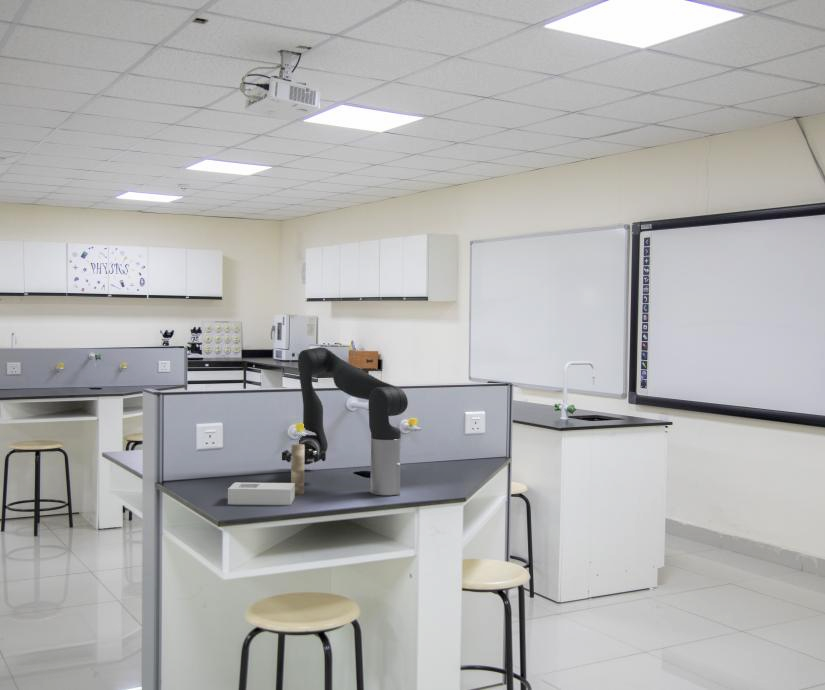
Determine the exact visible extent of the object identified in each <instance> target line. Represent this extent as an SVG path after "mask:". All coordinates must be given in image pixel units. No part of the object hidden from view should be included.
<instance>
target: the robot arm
mask: <svg viewBox="0 0 825 690" xmlns="http://www.w3.org/2000/svg"><path fill="white" fill-rule="evenodd" d="M297 367H298V368H297V369H298V376H299V382H300V383H299V384H300V390H301V395H302V397H301V398H302V406H303V410H302V411H303V413H302V425H303V424H304V427H303V429H304V428H305V429H304V430H306V431H308V432H311V433H314V434H305V435H306V436H302V435H301V436H302V437H301V436H300V437H301V438H300V437H299V438H300V440H299V439H298V440H299V444H304V445H305V456H304V466H305V465H306V466H307V465H311V464H313V463H317V462H320V461H322V462H326V459H327V450H328V447H329V446H328V440H327V437H326V433H325V429H324V408H323V407H324V406H323V404H322V400H321V399H320V398H319V396H318V394H317V393H316V390H315V388H314V386H313V376H316V375H322V374H328V375H331V376H332V380H333V382H334V385H335V387H336V388H337V389H338V390H340V391H342V392H343V393H345V394H347V395H349V396H351V397H354V398H358V399H362V400H366V401H368V404H367V405H368V423H369V424H368V427H369V430H370V435H371V436H370V438H371V440H370V490H369V491H370V494H372V495H376V496H396V495H397V496H398V495H401V437H402V436H401V435H402V433H401V429H400V428H398V427H396V426H393V425H392V424H391V423H390V417H395V416H400V415H402V414H403V413H404V412H405V411H406V410H407V408H408V405H409V402H408V401H409V400H408V397H407V395H406V393H405V391H404V390H403V389H402V388H400V387H398V386H397V385H393V384H390V383H388V382H384V381H382V380H380V379H378V378H377V377H375V376H373V375H372V374H369V373H367V372H365V371H364V370H363V369H360V368H359V367H357V366H355V365H352V364H350V363H349V362H347V361H345V360H343V359H342V358H340V357H339V356H338V355H336V354H335V353H333V351H331V350H329V349H328V348H326V347H323V346H322V347H321V346H320V347H314V348H309V349H308V348H306V349H303V350H301V351H300V352H299V354H298V357H297ZM281 461H283V462H285V461H286V462H287V463H291V452H290V450H288V449H286V450H284V451H282V452H281Z"/></svg>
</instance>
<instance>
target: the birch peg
mask: <svg viewBox="0 0 825 690" xmlns="http://www.w3.org/2000/svg"><path fill="white" fill-rule="evenodd" d="M304 456H305V445H304V444H298V443H295V444H291V461H290V463H291V464H290V469H291V470H290V471H291V472H290V483H295V495H300V496H301V495H304V494H305V464H304Z"/></svg>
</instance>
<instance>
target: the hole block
mask: <svg viewBox="0 0 825 690" xmlns="http://www.w3.org/2000/svg"><path fill="white" fill-rule="evenodd" d="M294 500H295V483H291V482H244V481H243V482H237V481H236V482H234V483H232V484H231V486H229V487H228V488H227V505H238V506H239V505H241V506H242V505H245V506H246V505H248V506H249V505H253V506H255V505H259V506H262V505H263V506H291V505H292V503H293V502H294Z"/></svg>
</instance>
